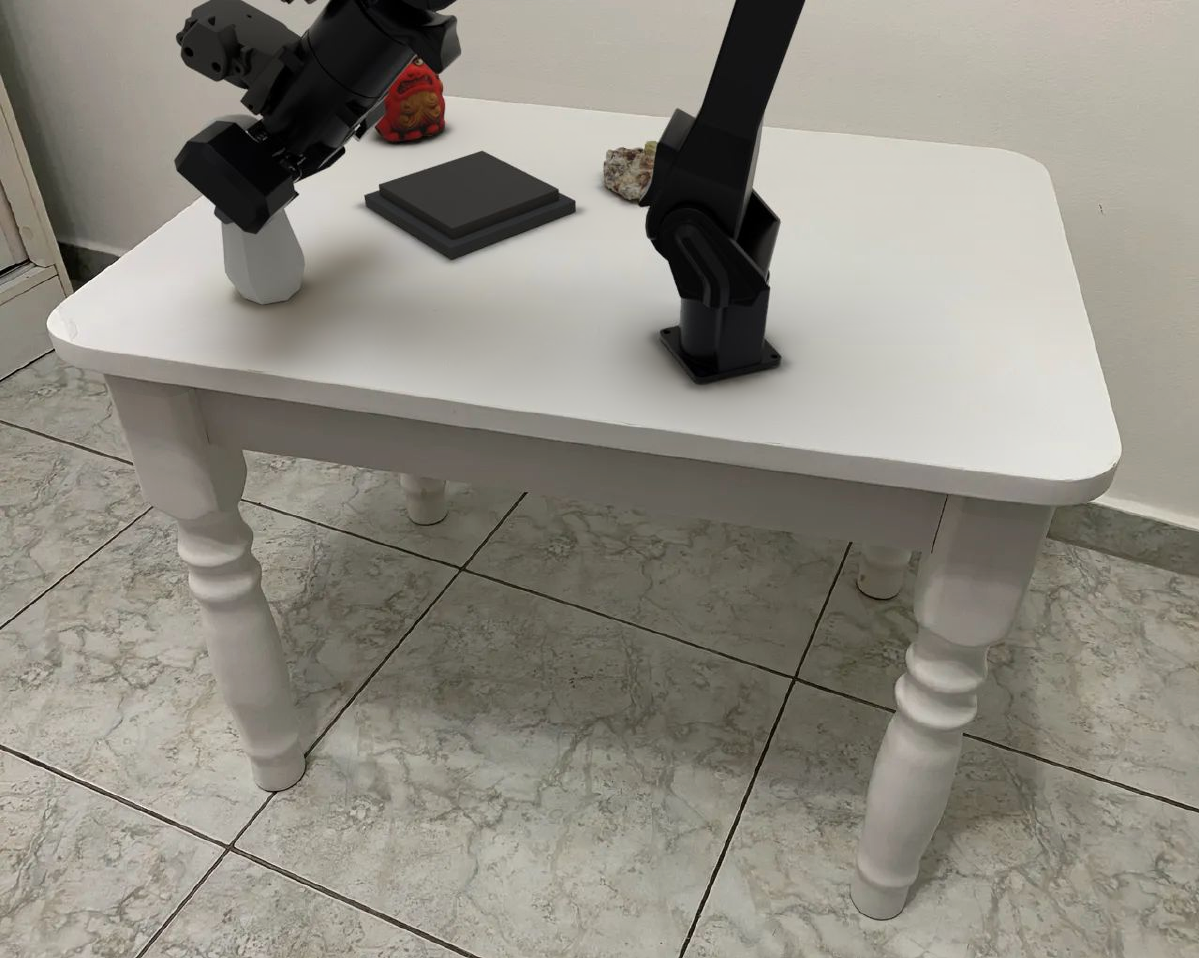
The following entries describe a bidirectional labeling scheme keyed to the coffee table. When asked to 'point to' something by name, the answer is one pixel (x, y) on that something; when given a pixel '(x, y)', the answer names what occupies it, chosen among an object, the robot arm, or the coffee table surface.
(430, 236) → the pad stack
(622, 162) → the mineral rock
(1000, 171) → the coffee table surface
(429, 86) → the red clay folk toy
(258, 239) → the salt shaker
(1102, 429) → the coffee table surface
